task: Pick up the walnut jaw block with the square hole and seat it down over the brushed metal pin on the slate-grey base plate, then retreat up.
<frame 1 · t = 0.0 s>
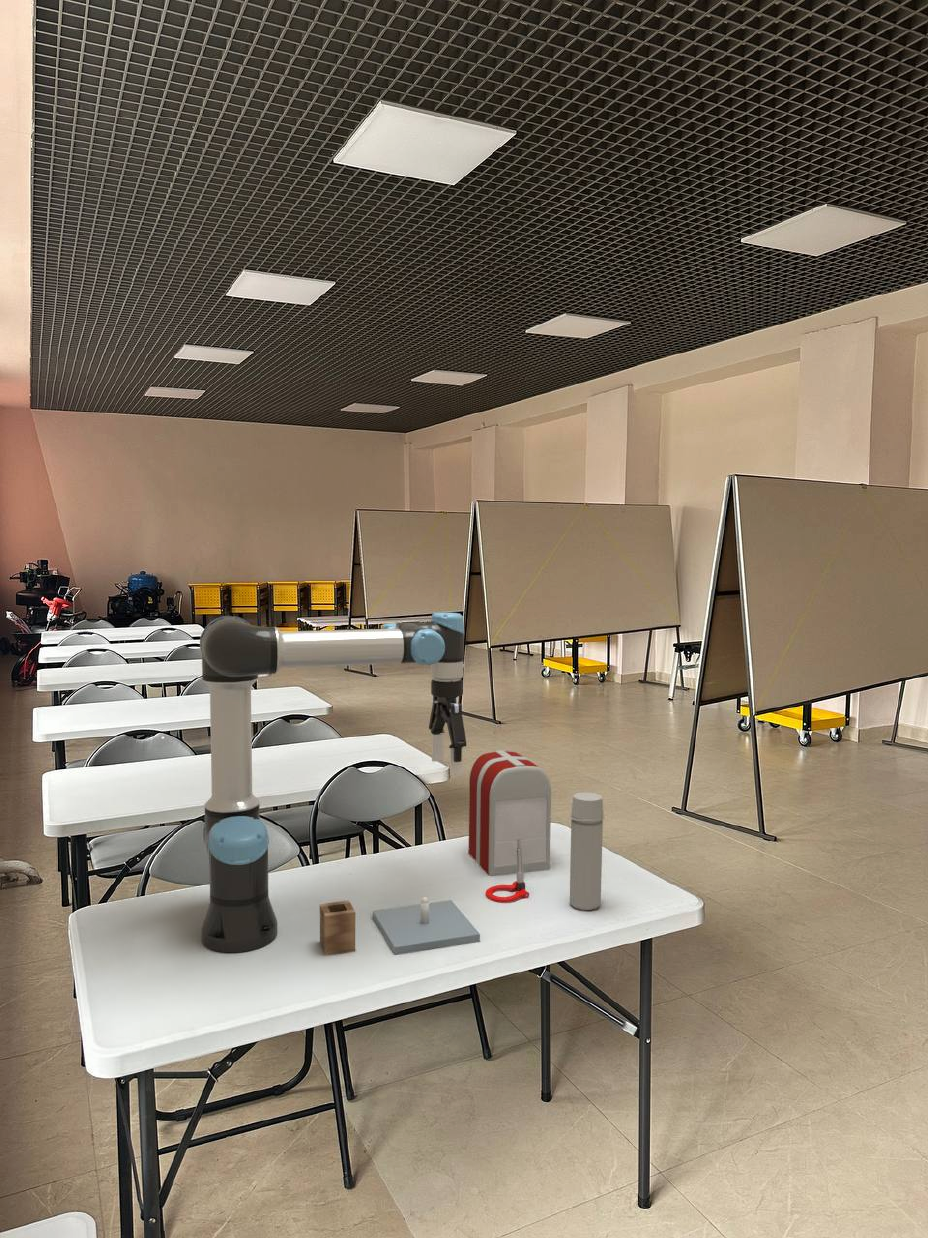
hand: (446, 768, 207), 28 cm above the table, fingers open, 13 cm apart
water bottle: (583, 904, 198), on the table
striped mailbox: (508, 861, 224), on the table
pin plate: (424, 929, 184), on the table
jaw block: (337, 946, 176), on the table
tow hook: (505, 896, 202), on the table
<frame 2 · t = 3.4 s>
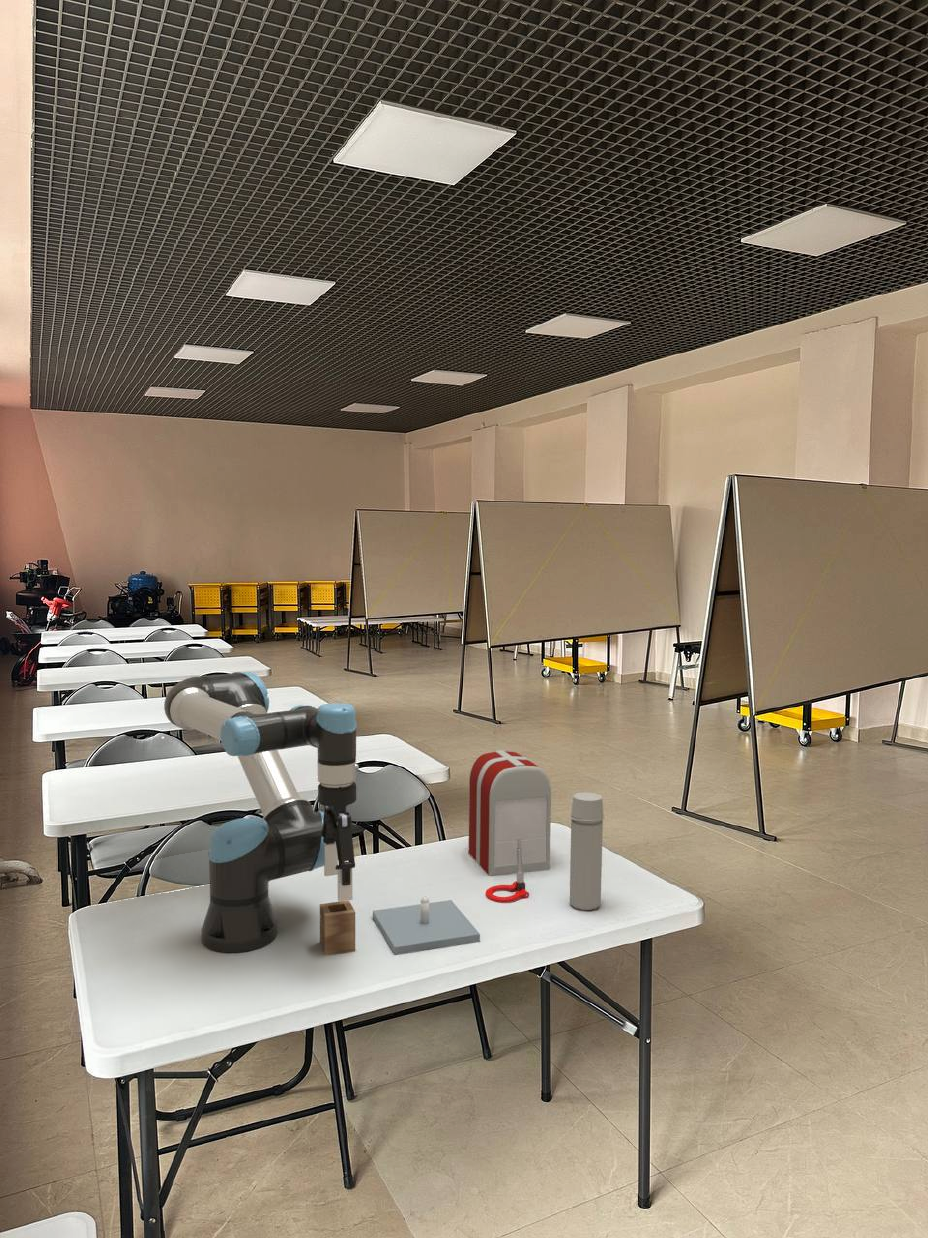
hand: (337, 887, 175), 12 cm above the table, fingers open, 13 cm apart
nothing on the table moved.
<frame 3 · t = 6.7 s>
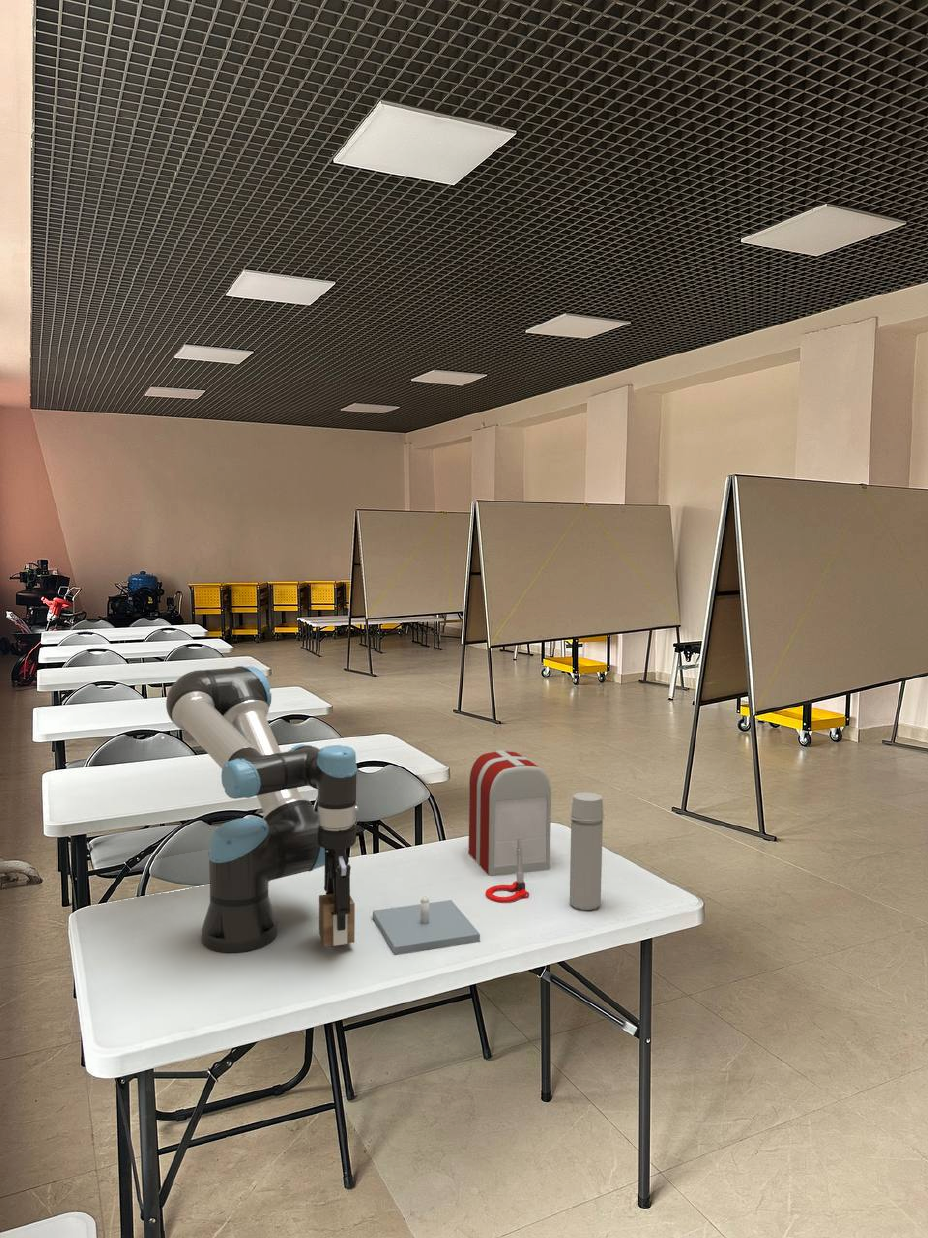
hand: (336, 936, 176), 2 cm above the table, fingers closed on jaw block, 6 cm apart
jaw block: (336, 937, 176), point 2 cm above the table, touching gripper
everything else where it was.
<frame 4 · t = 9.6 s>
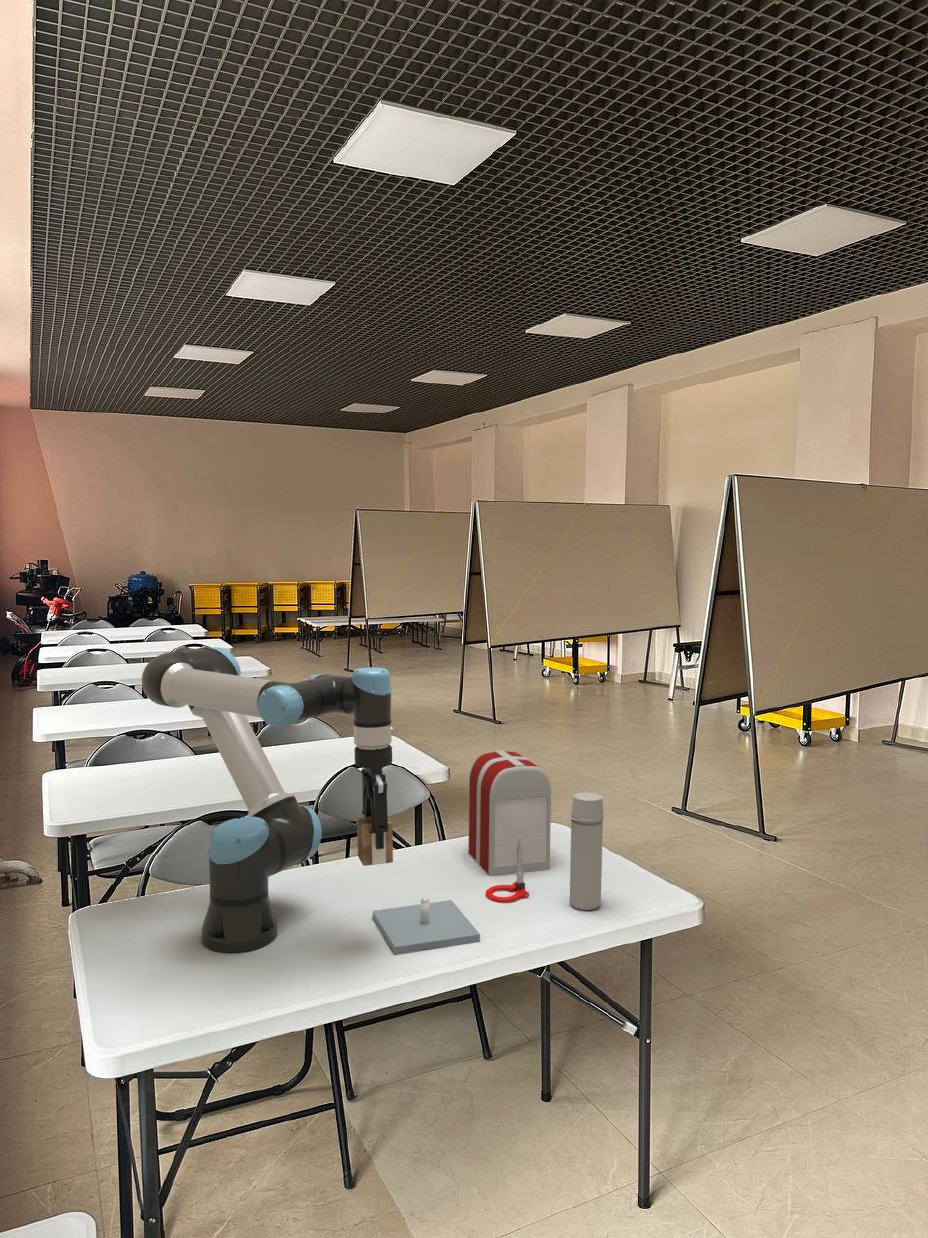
hand: (375, 857, 177), 17 cm above the table, fingers closed on jaw block, 6 cm apart
jaw block: (375, 859, 177), point 17 cm above the table, touching gripper
everything else where it was.
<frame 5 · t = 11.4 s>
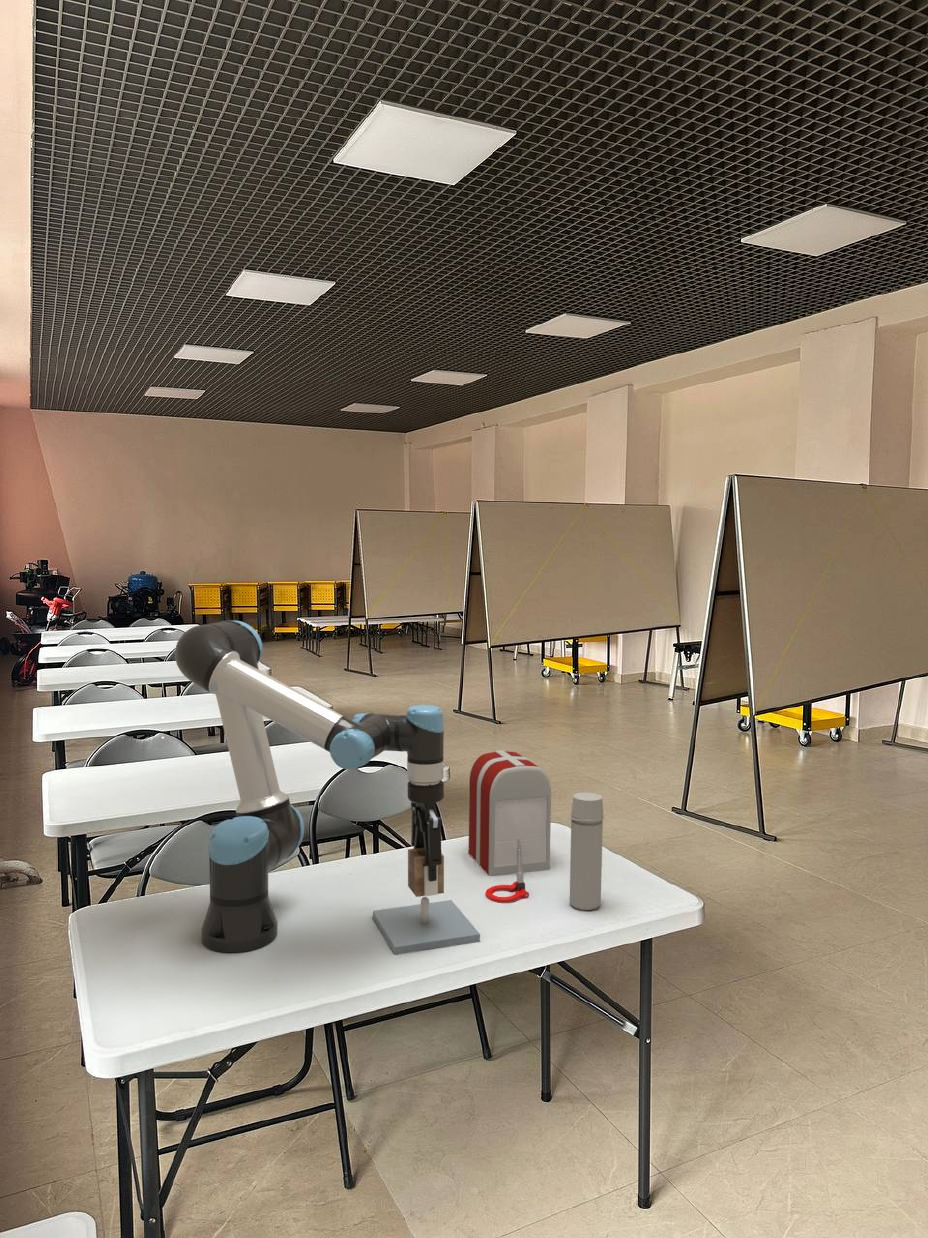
hand: (426, 888, 183), 9 cm above the table, fingers closed on jaw block, 6 cm apart
jaw block: (425, 889, 183), point 9 cm above the table, touching gripper
everything else where it was.
when the fingers open (3 cm above the table, at t = 12.9 s): jaw block drops 1 cm, resting on pin plate.
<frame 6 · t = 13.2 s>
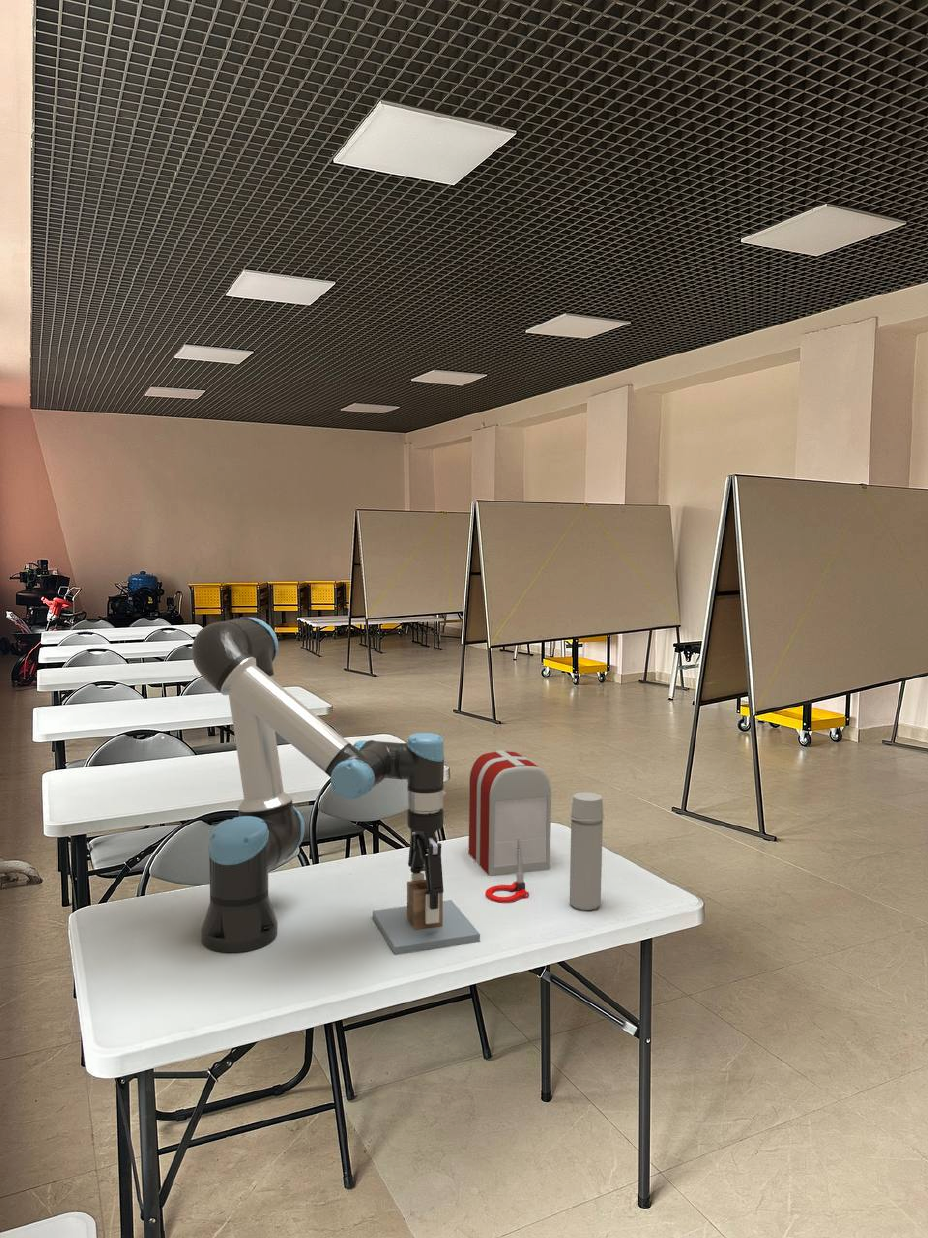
hand: (424, 912, 184), 4 cm above the table, fingers open, 9 cm apart
jaw block: (424, 922, 184), point 1 cm above the table, touching pin plate
everything else where it was.
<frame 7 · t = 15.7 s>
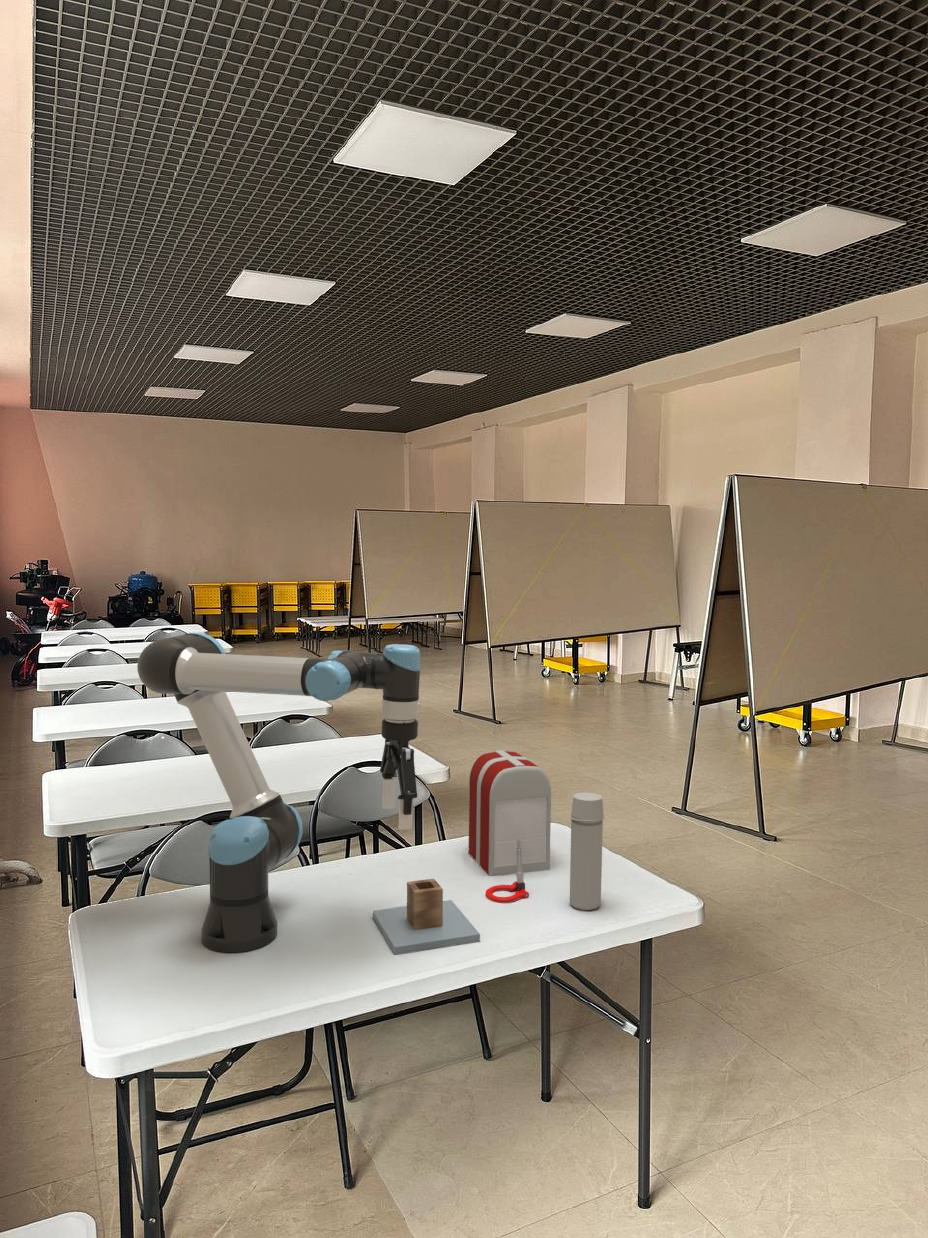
hand: (396, 818, 184), 23 cm above the table, fingers open, 13 cm apart
nothing on the table moved.
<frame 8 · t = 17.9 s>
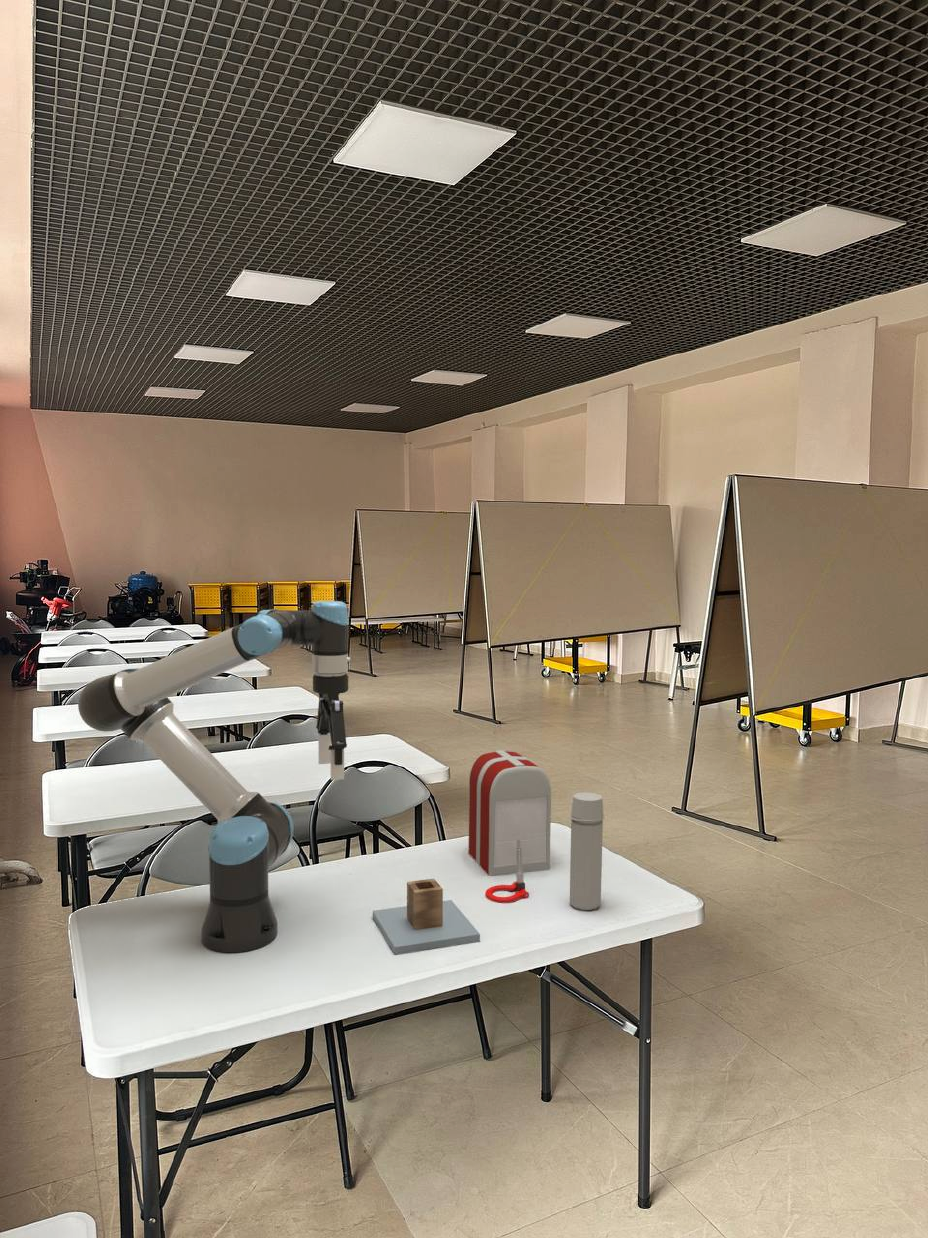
hand: (330, 771, 189), 32 cm above the table, fingers open, 13 cm apart
nothing on the table moved.
at the end: jaw block 0.1 cm off-centre on the pin plate, point 1.5 cm above the pin plate's base; jaw block tilted 0°; the gripper is holding nothing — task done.
